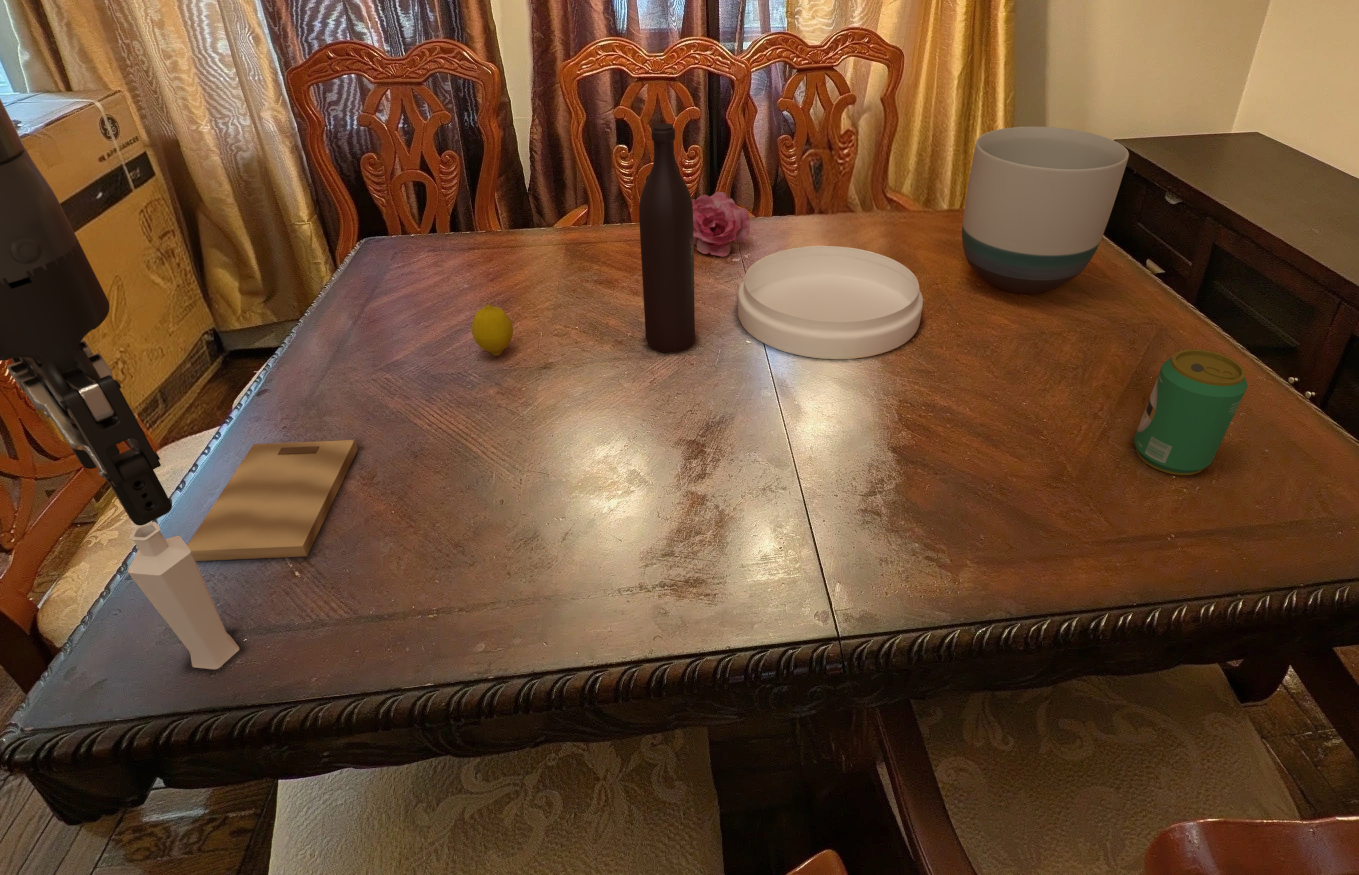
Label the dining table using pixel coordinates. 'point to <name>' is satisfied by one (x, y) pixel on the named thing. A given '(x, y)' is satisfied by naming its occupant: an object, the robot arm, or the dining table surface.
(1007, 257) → the planter
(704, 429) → the dining table surface
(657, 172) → the wine bottle
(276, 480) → the serving board
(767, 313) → the plate
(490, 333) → the fruit
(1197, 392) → the beverage can
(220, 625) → the perfume bottle
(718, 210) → the flower
